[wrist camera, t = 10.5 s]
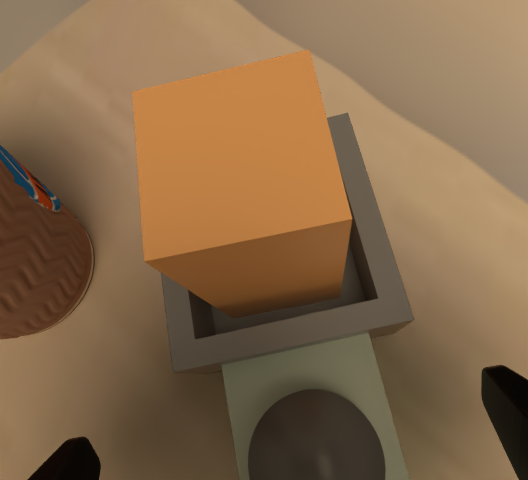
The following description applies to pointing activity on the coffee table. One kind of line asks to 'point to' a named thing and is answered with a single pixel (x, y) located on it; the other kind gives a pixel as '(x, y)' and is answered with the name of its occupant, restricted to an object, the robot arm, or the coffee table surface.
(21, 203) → the coffee cup
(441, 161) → the coffee table surface
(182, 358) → the grey tray
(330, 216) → the orange rectangular pillar
